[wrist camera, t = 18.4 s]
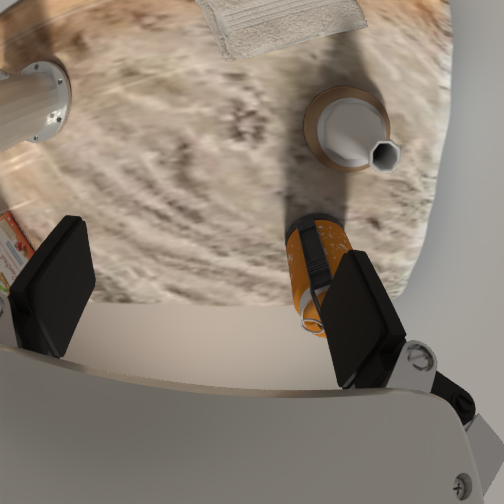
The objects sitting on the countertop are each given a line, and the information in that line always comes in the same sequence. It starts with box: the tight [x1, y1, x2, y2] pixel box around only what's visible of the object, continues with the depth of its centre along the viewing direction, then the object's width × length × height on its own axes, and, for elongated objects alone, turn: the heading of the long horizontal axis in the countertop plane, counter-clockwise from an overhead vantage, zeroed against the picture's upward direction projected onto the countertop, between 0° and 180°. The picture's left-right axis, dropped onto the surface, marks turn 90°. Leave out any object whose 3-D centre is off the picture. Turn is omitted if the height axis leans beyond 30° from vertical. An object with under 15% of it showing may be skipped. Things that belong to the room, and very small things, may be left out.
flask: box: [324, 103, 401, 173], centre depth 27 cm, size 7×7×10 cm
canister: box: [285, 214, 353, 338], centre depth 35 cm, size 9×11×20 cm
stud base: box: [303, 86, 390, 172], centre depth 33 cm, size 11×11×4 cm
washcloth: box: [195, 0, 368, 62], centre depth 24 cm, size 12×18×3 cm, turn 112°
